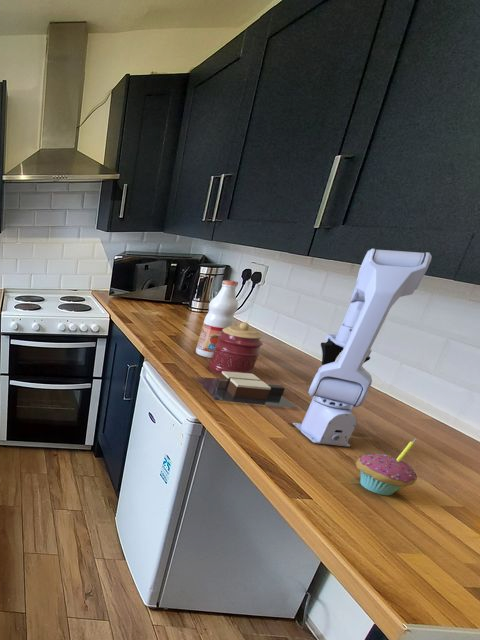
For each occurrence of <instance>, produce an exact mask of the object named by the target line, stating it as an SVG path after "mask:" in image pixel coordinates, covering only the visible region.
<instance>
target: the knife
mask: <svg viewBox="0 0 480 640" xmlns="http://www.w3.org/2000/svg"><path fill="white" fill-rule="evenodd" d="M229 382H230V380H219V383H218V386H217V389H225V390H227V388H228V385H229ZM266 384H267V383H266ZM267 385H268V386H269V387H271V389H270V392H269V395H279V396H283V394H284V391H285V387H283V386H282V385H277V384H269V383H268V384H267Z"/></svg>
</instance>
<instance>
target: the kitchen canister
mask: <svg viewBox="0 0 480 640" xmlns="http://www.w3.org/2000/svg"><path fill="white" fill-rule="evenodd" d="M222 331H223V333H222V334H219V335H218V342H217V343H216V344H215V348H214V352H213V355H212V358H210V361H209V363H208V368H209V369H210V370H211V371H212V372H214V373H216V374H219V375H221V374H222V371H227V372H238V373H250V374H254V368H255V366H256V362H257V360H258V357H259V355H260V347H261V346H263V345H264V342H263V341H262V339H261V338H263V334H261V333H260V332H259V331H258V330H257V329H254V328H252V327H250V324H249V323H248V322H245V321H243V322H240V323H239V325H233V326H229V327H227V328H224V329H223V330H222Z"/></svg>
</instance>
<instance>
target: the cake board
mask: <svg viewBox="0 0 480 640" xmlns="http://www.w3.org/2000/svg"><path fill="white" fill-rule="evenodd" d="M193 378H194V380H195V381H196V382H197V383H198V384H199V385H200V386H201V387H202V388H203V389H204V390H205V391H206V392H207V394H209V395H210V397H211V398H212V399H213V400H214V401H216V402H217V401H219V402H227V403H239V404H248V405H249V404H250V405H260V406H271V407H282V408H293V409H298V406H296V405H295V404H293V403H292V402H291V401H290V400H288V399H287V398H286V397H284V396H283V395H282V396H279V395H268V397H267V400H261V399H250V398H239V397H233V396H232V395H231V394H230V393H229V392H228V391H227V390H225V389H217V386H218V383H219V380H220V378H216V377H214V378H213V377H205V376H203V377H202V376H193Z"/></svg>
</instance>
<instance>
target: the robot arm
mask: <svg viewBox="0 0 480 640" xmlns="http://www.w3.org/2000/svg"><path fill="white" fill-rule="evenodd" d="M431 261H432V254H431V252H417V251H403V250H389V249H388V250H387V249H376V248H371V249H368V250H367V251H366V254H365V255H364V258H363V260H362V262H361V265H360V267H359V269H358V273H357V279H356V281H355V284H356V285H355V286H354V288H353V290H352V292H351V296H350V300H349V301H350V304H349V306H348V308H347V311H346V313H345V315H344V317H343V319H342V322H341V324H340V327H339V329H338V332H337V334H332V333H331V334H330V333H326V336H325V338H324V341H325V342H321V343H320V348H321V353H322V355H321V356H322V357H321V366H319V368H318V369H317V372H316V373H315V374H314V377H313V379H312V382H311V384H310V386H309V389H308V393H307V394H308V395H309V397H312V399H311V401H310V404H309V405H308V408H307V411H306V413H305V415H304V417H303V420H302V422H301V423H300V422H292V425H294V426H295V427H296V428H297V429H298V431H299V432H300V433H302V435H304V436H305V437H306V438H307V439H309V440H310V441H311V442H312V443H314V444H317V445H318V444H320V445H329V446H330V445H331V446H339V447H349V448H350V447H351V444H350V443H349V441H350V438H351V436H353V435H352V434H353V432H354V431H355V429H356V427H357V424H358V422H357V421H358V420H357V418H356V416H355V415H354V414H353V413H352V411H353V409H354V408H359V407H361V406H363V404H364V402H365V401H366V398H367V396H368V394H369V392H370V388H371V386H372V383H373V378H372V375H371V374H370V372H368V370H366V369H365V368H364V367H363V365H364V364H365V363H366V362H368V361H370V360H371V353H372V347H373V345H374V343H375V341H376V339H377V337H378V335H379V333H380V331H381V329H382V327H383V324H384V322H385V321H386V318H387V316H388V314H389V312H390V310H391V309H392V307H393V306H394V305H395V304H396V302H397V301H398V300H399V299H400V298H403V297H406V296H411V295H413V294H414V292H415V291H416V290H417V289H418V288H419V286H420V284H421V282H422V280H423V278H424V277H425V275H426V273H427V271H428V269H429V266H430V264H431ZM337 358H338V359H337Z"/></svg>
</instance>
